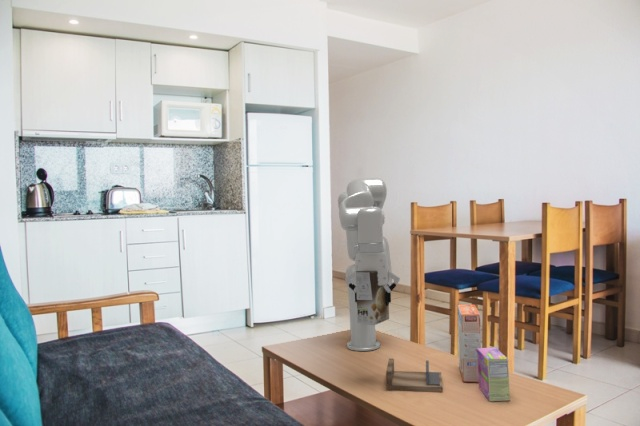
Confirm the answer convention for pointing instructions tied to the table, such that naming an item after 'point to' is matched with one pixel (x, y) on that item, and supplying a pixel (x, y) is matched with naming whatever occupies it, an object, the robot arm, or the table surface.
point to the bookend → (432, 376)
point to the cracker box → (469, 342)
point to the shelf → (409, 380)
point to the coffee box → (370, 299)
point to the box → (493, 374)
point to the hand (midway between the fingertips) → (373, 304)
